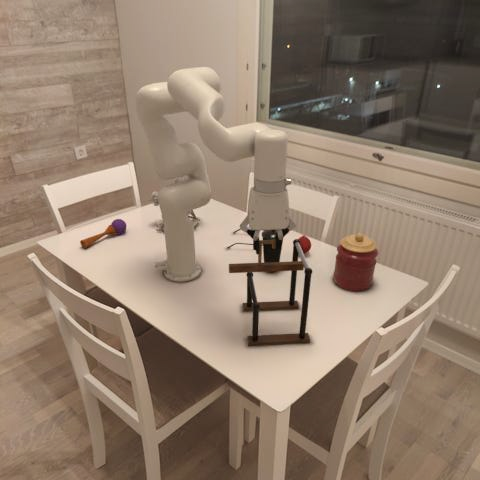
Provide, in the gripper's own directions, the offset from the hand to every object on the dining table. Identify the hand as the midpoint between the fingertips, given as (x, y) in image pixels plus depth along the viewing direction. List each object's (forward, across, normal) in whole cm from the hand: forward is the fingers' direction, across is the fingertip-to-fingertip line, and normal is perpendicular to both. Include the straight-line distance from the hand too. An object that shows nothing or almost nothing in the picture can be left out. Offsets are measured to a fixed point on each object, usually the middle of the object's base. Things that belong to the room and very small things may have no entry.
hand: (266, 251), depth 116 cm
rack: (+24, -3, 0) cm, 24 cm away
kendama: (+24, +56, -59) cm, 85 cm away
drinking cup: (+24, -6, -31) cm, 40 cm away
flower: (+24, +28, -67) cm, 76 cm away
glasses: (+24, -1, -52) cm, 57 cm away
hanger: (+5, 0, 0) cm, 5 cm away
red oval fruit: (+24, -19, -41) cm, 51 cm away
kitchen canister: (+24, -32, -21) cm, 46 cm away
